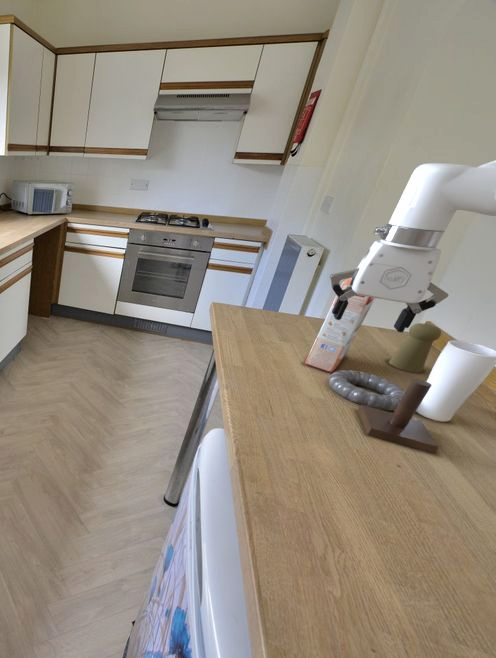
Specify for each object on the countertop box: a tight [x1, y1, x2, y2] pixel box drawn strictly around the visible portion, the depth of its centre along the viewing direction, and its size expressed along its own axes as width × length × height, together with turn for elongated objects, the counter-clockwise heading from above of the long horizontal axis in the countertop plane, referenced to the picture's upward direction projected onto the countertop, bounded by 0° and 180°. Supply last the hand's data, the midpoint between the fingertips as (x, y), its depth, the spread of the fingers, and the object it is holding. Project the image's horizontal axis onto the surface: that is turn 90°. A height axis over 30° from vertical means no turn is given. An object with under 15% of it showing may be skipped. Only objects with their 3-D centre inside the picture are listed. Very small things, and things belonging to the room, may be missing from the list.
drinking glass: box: [415, 339, 496, 423], centre depth 78 cm, size 7×7×15 cm
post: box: [357, 378, 439, 454], centre depth 74 cm, size 9×9×10 cm
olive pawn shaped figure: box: [388, 322, 442, 374], centre depth 98 cm, size 6×6×11 cm
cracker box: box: [304, 278, 376, 374], centre depth 96 cm, size 14×6×21 cm, turn 131°
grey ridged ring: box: [327, 369, 406, 412], centre depth 86 cm, size 13×13×3 cm
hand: (366, 323), depth 82 cm, fingers open, 9 cm apart
